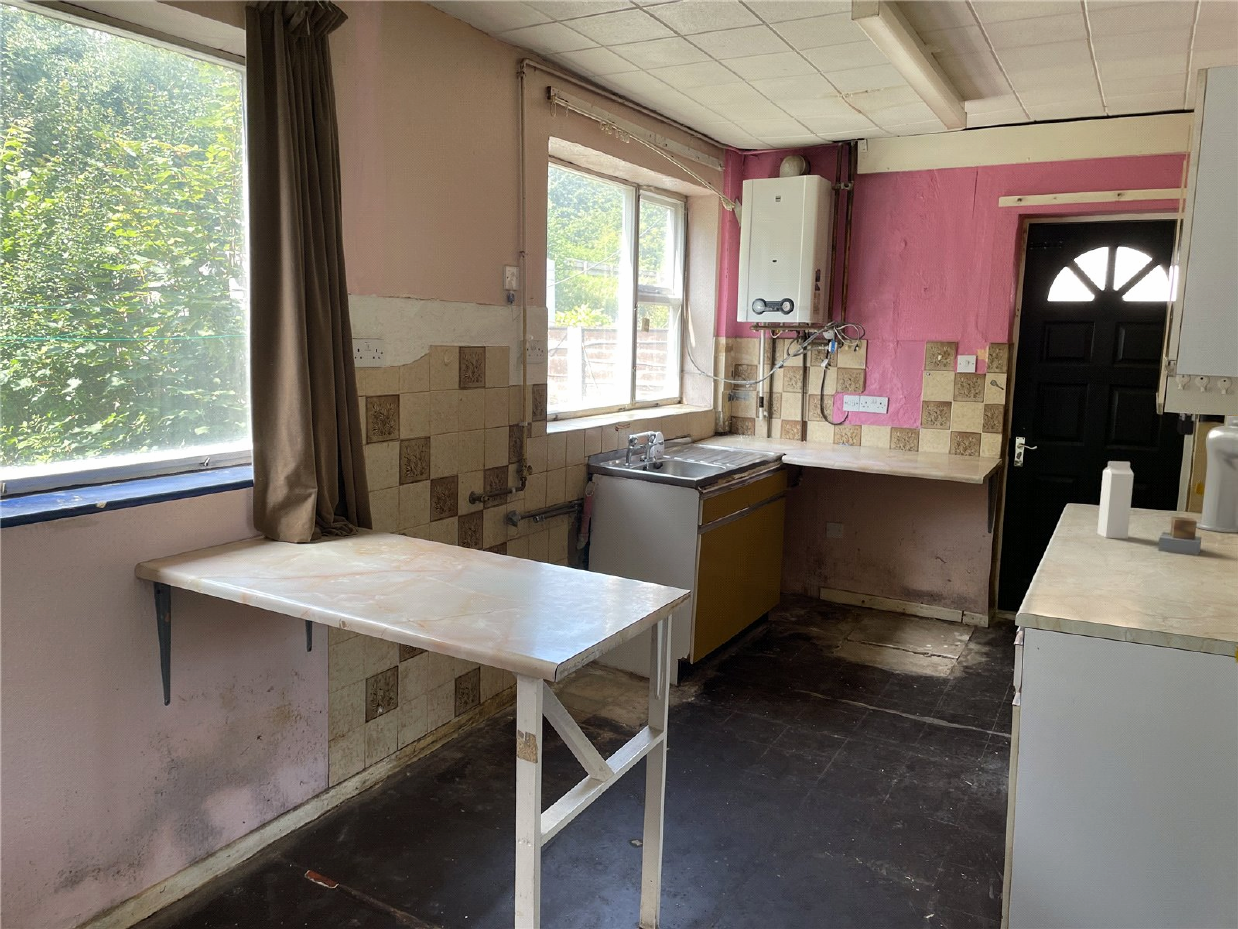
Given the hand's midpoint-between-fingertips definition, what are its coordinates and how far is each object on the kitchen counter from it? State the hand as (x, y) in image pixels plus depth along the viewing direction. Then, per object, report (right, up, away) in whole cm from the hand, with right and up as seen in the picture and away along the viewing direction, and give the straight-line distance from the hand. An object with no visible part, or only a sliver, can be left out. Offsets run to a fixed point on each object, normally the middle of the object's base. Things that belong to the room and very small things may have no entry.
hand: (1185, 433), depth 252 cm
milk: (-19, -30, +3) cm, 36 cm away
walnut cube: (-10, -29, -14) cm, 34 cm away
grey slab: (-11, -33, -14) cm, 37 cm away
